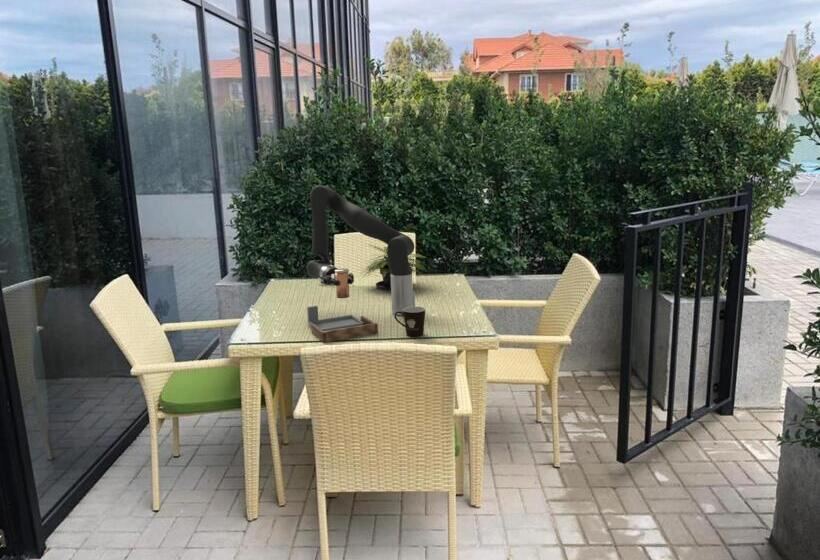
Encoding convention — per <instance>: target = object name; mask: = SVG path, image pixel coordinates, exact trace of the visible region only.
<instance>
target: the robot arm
mask: <svg viewBox="0 0 820 560" xmlns="http://www.w3.org/2000/svg"><path fill="white" fill-rule="evenodd" d="M309 195H310V196H309V197H310V198H309V199H310V208H311V209H310V210H311V220H312V239H311V241H312V242H311V253H312V254H313V255H315V256H319V257H320V258H321V260H319V259H317V260H316V259H315V260H314V259H313V260H309V262H307V264H306V272H307V275H308V276H311V277H312V278H316V279H318V278H320V279H321V282H320V284H323V285H326V286H329V285H330V286H333V287H334V286H335V287H336V286H338V285H339V284H338V280H336V277H335V270H336V269H339V268H337V267H336V266H334V265H333V266H332V264H331V261H330V256H329V230H328V225H327V220H326V210H327V209H328V210H330V211H332V212H333V213H335V214H337V215H338V216H340V217H341V219H343V221H344V222H345V223H346V224H347V225H348V226H349V227H351V228H352V229H353V230H355V231H357V232H358V233H360V234H362V235H364V236H366V237H369V238H372V239H375V240H377V241H380V242H383V243H384V244H386V245H387V246H386V247H387V248H386V249H387V254H388V266H389V269H390V273H391V291H390V292H391V295H390V296H391V298H390V299H391V314H392V315H393V316H395V313H396V312H399V311H400V312H403V309H404V308H407V307H416V293H415V292H416V291H415V290H413V289H414V288H413V272H412V266H409V264H408V257H409V256H410V254H413V252H415V251H414V250H415V242H414V241H413V240H412V238H411V237H410V236H409V235H406V234H404V233H402V232H400V231H398V230H396V229H394V228H393V227H390V226H389V225H388V224H386V223H385V222H383V221H381V220H380V219H379V218H377V217H376V216H374V215H373V214H371V213H370V212H368V211H366V210H365V209H363V208H361V207H360V206H358V205H357V204H354V203H352V202H351V201H348V200H347V199H345V198H344V196H341V194H339V193H338V192H337V191H336V190H334V189H333V188H331V187H329V186H326V185H316V186H314V187H313V188H312V190H311V192H310V194H309ZM408 255H409V256H408ZM348 274H349V285H353V284H354V282H355V279H354V278H355V275H354V274H353V273H352V272H348ZM396 316H403V315H402V314H401V313H397V314H396Z"/></svg>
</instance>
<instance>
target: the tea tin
mask: <svg viewBox="0 0 820 560" xmlns="http://www.w3.org/2000/svg"><path fill="white" fill-rule="evenodd" d="M349 270H350V269H349V268H338V269H336V270H335V277H336V280H338V284H339V285H338V286H336V285H335V289H336V290H335V295H336V299H347V298H350V284H349V273H350V272H349Z"/></svg>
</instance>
